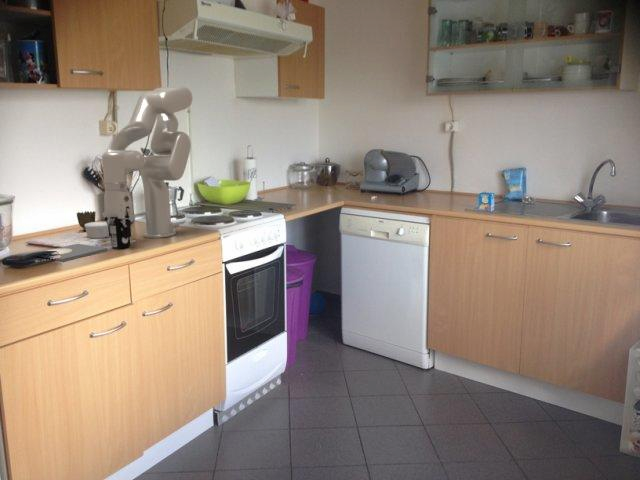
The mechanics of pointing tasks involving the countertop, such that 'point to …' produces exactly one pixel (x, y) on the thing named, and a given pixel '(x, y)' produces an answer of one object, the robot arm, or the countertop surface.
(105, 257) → the countertop surface
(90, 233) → the ramekin
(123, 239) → the beverage can
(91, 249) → the board
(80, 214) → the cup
